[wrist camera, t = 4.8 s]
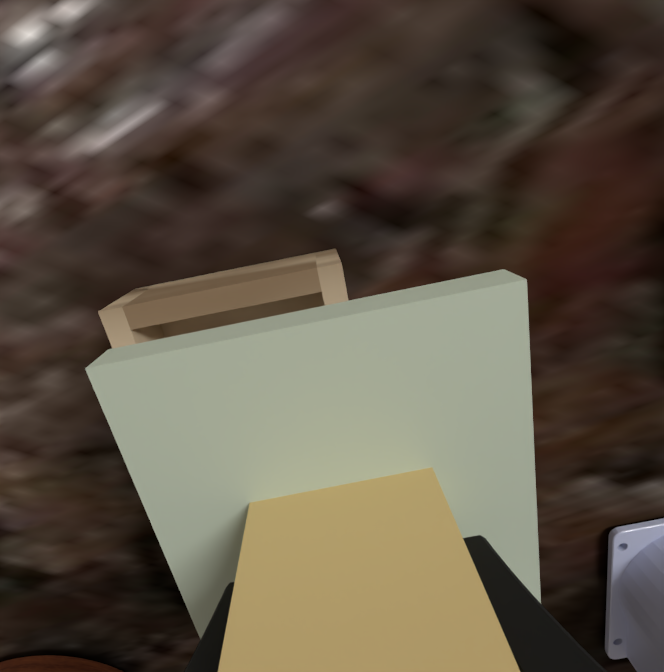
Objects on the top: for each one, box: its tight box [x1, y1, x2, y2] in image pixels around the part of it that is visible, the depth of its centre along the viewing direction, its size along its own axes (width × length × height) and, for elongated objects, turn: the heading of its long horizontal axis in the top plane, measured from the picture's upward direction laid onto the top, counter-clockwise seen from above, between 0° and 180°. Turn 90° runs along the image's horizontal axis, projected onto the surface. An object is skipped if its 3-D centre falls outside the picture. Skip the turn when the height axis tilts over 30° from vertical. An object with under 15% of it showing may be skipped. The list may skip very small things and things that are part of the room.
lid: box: [85, 269, 541, 672], centre depth 9 cm, size 11×8×6 cm
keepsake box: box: [98, 249, 348, 349], centre depth 17 cm, size 11×8×3 cm
